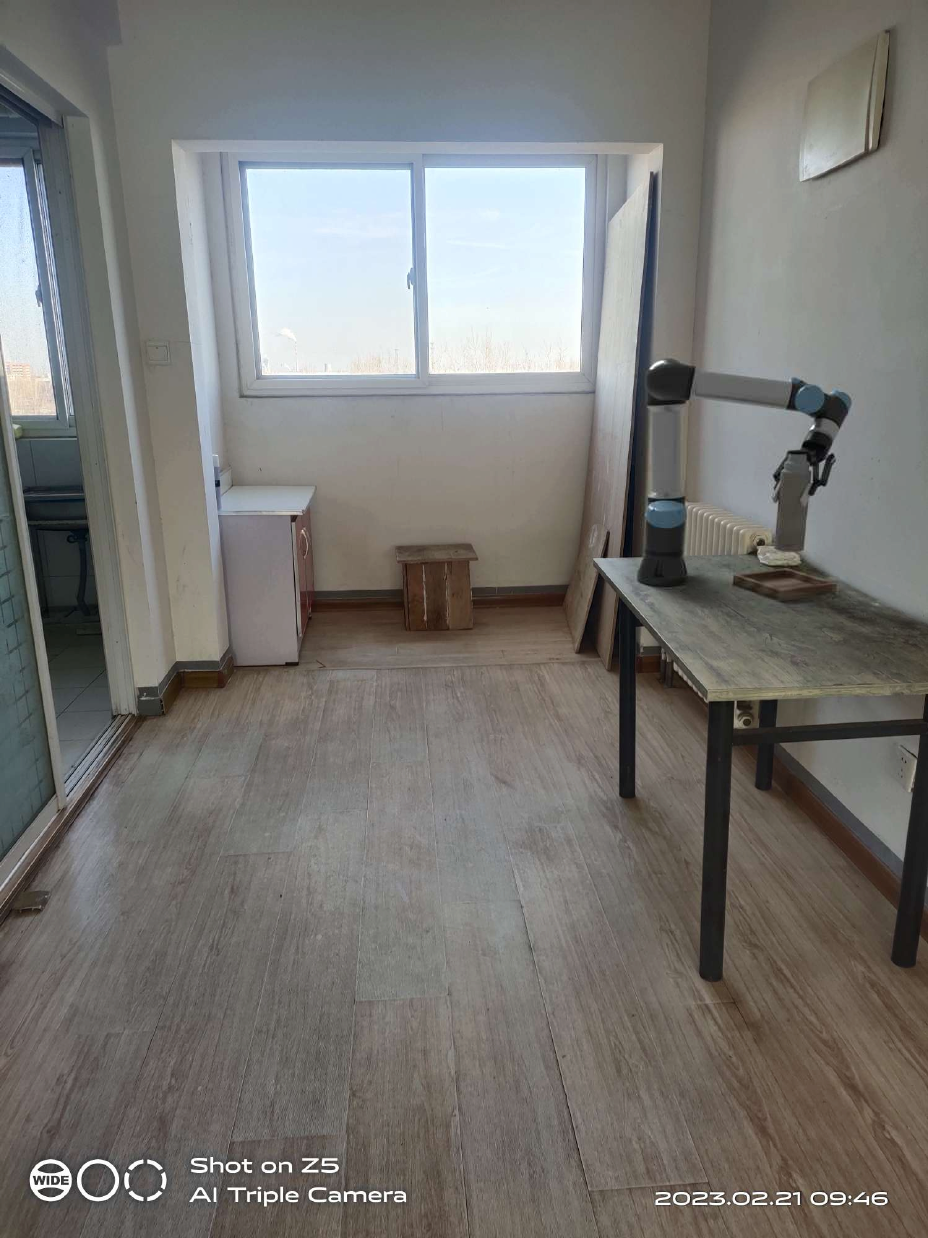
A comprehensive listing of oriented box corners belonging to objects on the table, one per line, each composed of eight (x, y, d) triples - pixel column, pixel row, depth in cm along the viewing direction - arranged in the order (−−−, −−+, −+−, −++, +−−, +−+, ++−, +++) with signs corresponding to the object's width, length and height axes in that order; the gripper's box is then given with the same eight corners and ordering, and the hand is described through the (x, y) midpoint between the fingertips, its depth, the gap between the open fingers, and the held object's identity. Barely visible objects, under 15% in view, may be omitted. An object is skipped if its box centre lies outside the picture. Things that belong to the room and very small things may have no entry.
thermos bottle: (770, 550, 239) (779, 450, 231) (778, 544, 246) (787, 448, 237) (799, 553, 235) (809, 452, 227) (806, 547, 241) (816, 449, 233)
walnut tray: (732, 584, 249) (733, 574, 248) (785, 577, 256) (786, 568, 255) (780, 601, 231) (781, 591, 231) (835, 593, 239) (836, 583, 238)
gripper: (858, 449, 235) (827, 514, 229) (788, 445, 249) (757, 505, 243) (853, 431, 230) (821, 497, 224) (782, 428, 244) (750, 489, 238)
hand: (788, 501), depth 234 cm, fingers closed on thermos bottle, 8 cm apart
